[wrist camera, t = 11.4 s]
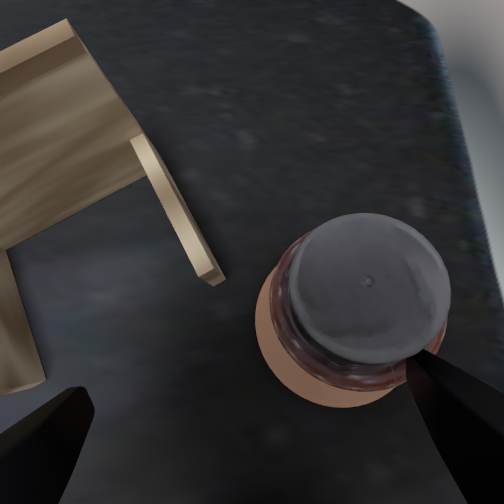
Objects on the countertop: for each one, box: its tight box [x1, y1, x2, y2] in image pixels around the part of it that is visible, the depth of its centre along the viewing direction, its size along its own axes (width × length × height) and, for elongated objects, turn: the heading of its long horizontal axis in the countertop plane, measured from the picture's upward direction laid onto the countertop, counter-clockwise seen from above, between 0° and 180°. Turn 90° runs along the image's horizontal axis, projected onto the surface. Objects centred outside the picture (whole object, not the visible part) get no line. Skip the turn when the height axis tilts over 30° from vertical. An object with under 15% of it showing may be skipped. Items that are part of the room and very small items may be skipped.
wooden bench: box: [0, 19, 226, 396], centre depth 17 cm, size 12×15×11 cm
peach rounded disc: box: [255, 267, 396, 408], centre depth 19 cm, size 10×10×1 cm
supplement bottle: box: [269, 213, 451, 392], centre depth 13 cm, size 6×6×11 cm
